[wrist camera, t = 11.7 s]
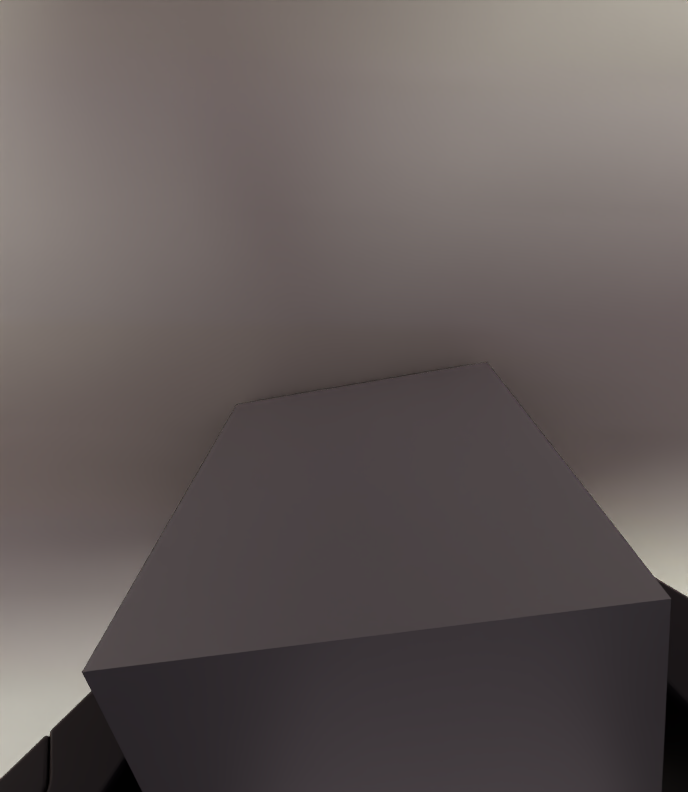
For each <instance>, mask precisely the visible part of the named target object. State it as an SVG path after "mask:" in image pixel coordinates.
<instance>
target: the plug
mask: <svg viewBox="0 0 688 792" xmlns="http://www.w3.org/2000/svg"><path fill="white" fill-rule="evenodd" d="M670 611H671V598H670V597H669V595H668V594H667V593H666V591H665V590H664V589H663V588H662V586H661V585H660V584H659V582H658V581H657V580H656V579H655V577H654V576H653V575H652V573H651V572H650V571H649V570H648V568H647V567H646V566H645V564H644V563H643V562H642V561H641V559H640V558H639V557H638V555H637V554H636V553H635V552H634V550H633V549H632V548H631V546H630V545H629V544H628V543H627V541H626V540H625V539H624V537H623V536H622V535H621V534H620V532H619V531H618V530H617V528H616V527H615V526H614V525H613V523H612V522H611V521H610V520H609V518H608V517H607V516H606V514H605V513H604V512H603V511H602V509H601V508H600V507H599V505H598V504H597V503H596V502H595V500H594V499H593V498H592V496H591V495H590V494H589V493H588V491H587V490H586V489H585V487H584V486H583V485H582V484H581V482H580V481H579V480H578V478H577V477H576V476H575V475H574V473H573V472H572V471H571V469H570V468H569V467H568V466H567V464H566V463H565V462H564V460H563V459H562V458H561V457H560V455H559V454H558V453H557V451H556V450H555V449H554V448H553V446H552V445H551V444H550V442H549V441H548V440H547V439H546V437H545V436H544V435H543V433H542V432H541V431H540V430H539V428H538V427H537V426H536V424H535V423H534V422H533V421H532V419H531V418H530V417H529V415H528V414H527V413H526V412H525V410H524V409H523V408H522V406H521V405H520V404H519V403H518V401H517V400H516V399H515V397H514V396H513V395H512V394H511V392H510V391H509V390H508V388H507V387H506V386H505V385H504V383H503V382H502V381H501V379H500V378H499V377H498V376H497V374H496V373H495V372H494V370H493V369H492V368H491V367H490V365H489V364H488V363H487V362H483V363H477V364H471V365H465V366H459V367H453V368H447V369H442V370H436V371H430V372H424V373H418V374H412V375H406V376H400V377H394V378H389V379H383V380H377V381H371V382H365V383H359V384H353V385H347V386H341V387H335V388H330V389H324V390H318V391H312V392H306V393H300V394H294V395H288V396H282V397H277V398H271V399H265V400H259V401H253V402H247V403H241V404H237V405H236V407H235V408H234V410H233V412H232V413H231V415H230V417H229V419H228V420H227V422H226V424H225V426H224V427H223V429H222V431H221V433H220V434H219V436H218V438H217V439H216V441H215V443H214V445H213V446H212V448H211V450H210V452H209V453H208V455H207V457H206V458H205V460H204V462H203V464H202V465H201V467H200V469H199V471H198V472H197V474H196V476H195V477H194V479H193V481H192V483H191V484H190V486H189V488H188V490H187V491H186V493H185V495H184V497H183V498H182V500H181V502H180V503H179V505H178V507H177V509H176V510H175V512H174V514H173V516H172V517H171V519H170V521H169V522H168V524H167V526H166V528H165V529H164V531H163V533H162V535H161V536H160V538H159V540H158V541H157V543H156V545H155V547H154V548H153V550H152V552H151V554H150V555H149V557H148V559H147V561H146V562H145V564H144V566H143V567H142V569H141V571H140V573H139V574H138V576H137V578H136V580H135V581H134V583H133V585H132V586H131V588H130V590H129V592H128V593H127V595H126V597H125V599H124V600H123V602H122V604H121V606H120V607H119V609H118V611H117V612H116V614H115V616H114V618H113V619H112V621H111V623H110V625H109V626H108V628H107V630H106V631H105V633H104V635H103V637H102V638H101V640H100V642H99V644H98V645H97V647H96V649H95V650H94V652H93V654H92V656H91V657H90V659H89V661H88V663H87V664H86V666H85V668H84V670H83V671H82V673H83V675H84V677H85V679H86V681H87V683H88V685H89V687H90V689H91V691H92V693H93V695H94V697H95V699H96V701H97V703H98V705H99V707H100V709H101V711H102V713H103V715H104V717H105V719H106V721H107V723H108V725H109V727H110V729H111V730H112V732H113V734H114V736H115V738H116V740H117V742H118V744H119V746H120V748H121V750H122V752H123V754H124V756H125V758H126V760H127V762H128V764H129V766H130V768H131V770H132V772H133V774H134V776H135V778H136V780H137V782H138V784H139V786H140V788H141V790H142V792H662V774H663V753H664V733H665V713H666V692H667V672H668V651H669V631H670Z"/></svg>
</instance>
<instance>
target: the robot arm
mask: <svg viewBox="0 0 688 792" xmlns="http://www.w3.org/2000/svg"><path fill="white" fill-rule="evenodd" d="M655 579H656V580H657V581H658V582H659V584H660V585H661V586H662V588H663V589H664V590H665V591H666V593H667V594H668V595H669V597H670V598H671V611H670V631H669V651H668V672H667V692H666V713H665V733H664V753H663V774H662V792H688V597H687V596H685V595H683V594H682V593H680V592H678V591H677V590H675V589H673V588H672V587H670V586H668V585H667V584H665V583H663V582H662V581H660V580H658V579H657V578H655ZM0 792H142V790H141V788H140V786H139V784H138V782H137V780H136V778H135V776H134V774H133V772H132V770H131V768H130V766H129V764H128V762H127V760H126V758H125V756H124V754H123V752H122V750H121V748H120V746H119V744H118V742H117V740H116V738H115V736H114V734H113V732H112V730H111V729H110V727H109V725H108V723H107V721H106V719H105V717H104V715H103V713H102V711H101V709H100V707H99V705H98V703H97V701H96V699H95V697H94V695H93V693H92V691H91V692H90V693H89V694H88V695H87V696H86V697H85V698H84V699H83V700H82V701H81V702H80V703H79V704H78V705H77V706H76V707H74V708H73V709H72V710H71V711H70V712H69V713H68V714H67V715H66V716H65V717H64V718H63V719H62V720H61V721H60V722H59V723H58V724H57V725H56V726H55V727H54V728H53V729H52V730H51V732H50V736H45V737H43V738H42V739H41V740H40V741H39V742H38V743H37V744H36V745H35V746H34V747H33V748H32V749H31V750H30V751H29V752H28V753H27V754H26V755H25V756H24V757H23V758H22V759H21V760H20V761H19V762H18V763H17V764H15V765H14V766H13V767H12V768H11V769H10V770H9V771H8V772H7V773H6V774H5V775H4V776H3V777H2V778H1V779H0Z"/></svg>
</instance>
